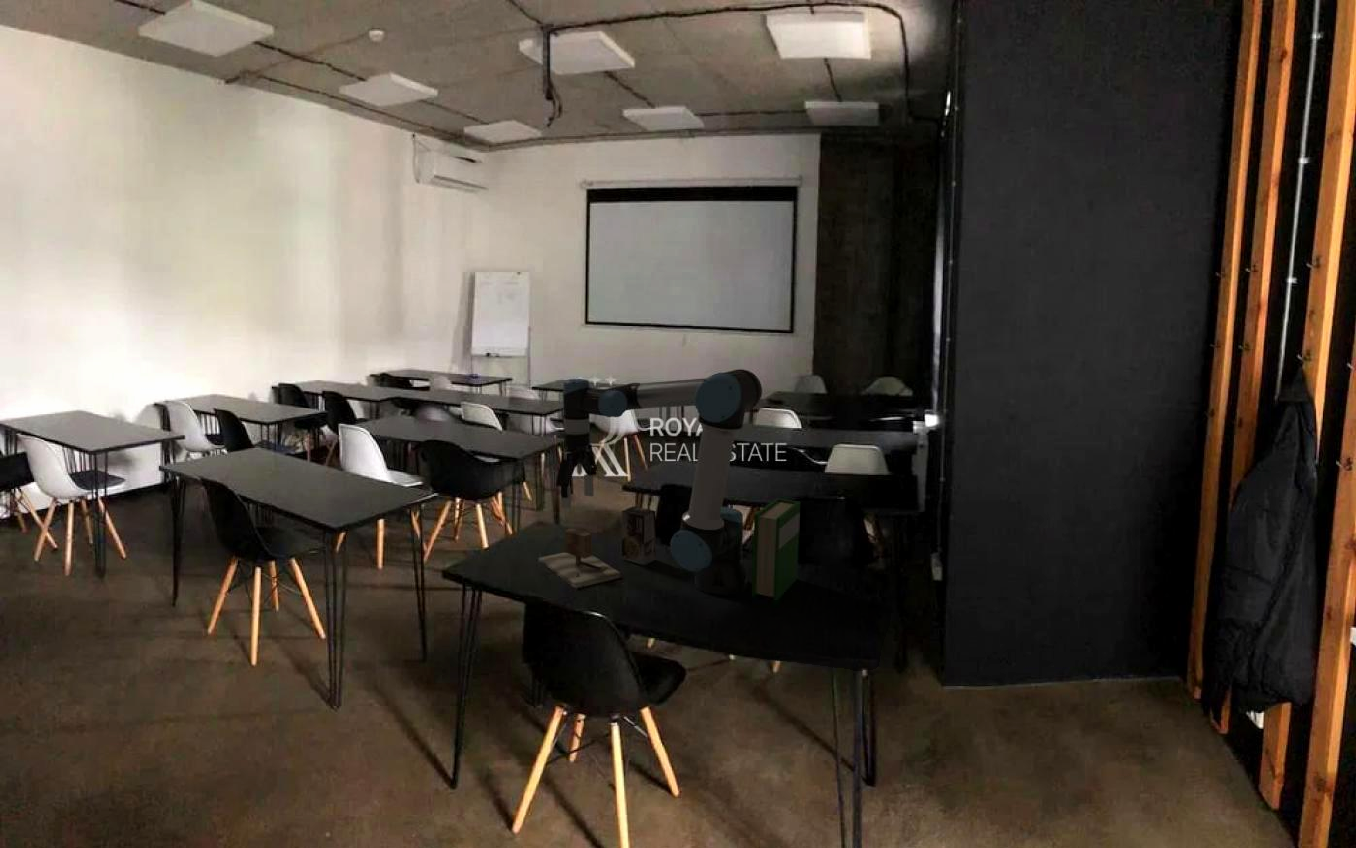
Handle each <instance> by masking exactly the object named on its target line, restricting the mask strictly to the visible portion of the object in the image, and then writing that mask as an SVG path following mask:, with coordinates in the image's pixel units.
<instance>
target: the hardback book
mask: <svg viewBox="0 0 1356 848" xmlns="http://www.w3.org/2000/svg"><path fill="white" fill-rule="evenodd" d="M753 518H754V519H753V521H754V522H753V546H752V547H753V549H752V574H751V579H752V580H751V597H754V596H755V597H756V596H757V595H761V596H765V597H771V598H772V600H773V602H774V601H775V602H777V601H778V600H779V599H780V598H781V597H782V596H783V595H784V594H785V593H786V591H788V590H789V588H791V586H792V585H793V584H794V583H795V582H796V581H797V580H798V564H799V563H798V562H799V560H798V559H799V540H800V539H799V538H800V524H801V523H800V520H801V519H800V518H801V501H796V500H789V499H783V498H778V497H776V498H775V499H773V500H772V501H770V502H769V503H768V504H767V505H765V506H764V507H762V509H760V510H759V511H757V512H756V513H754V517H753ZM756 594H757V595H756Z"/></svg>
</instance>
